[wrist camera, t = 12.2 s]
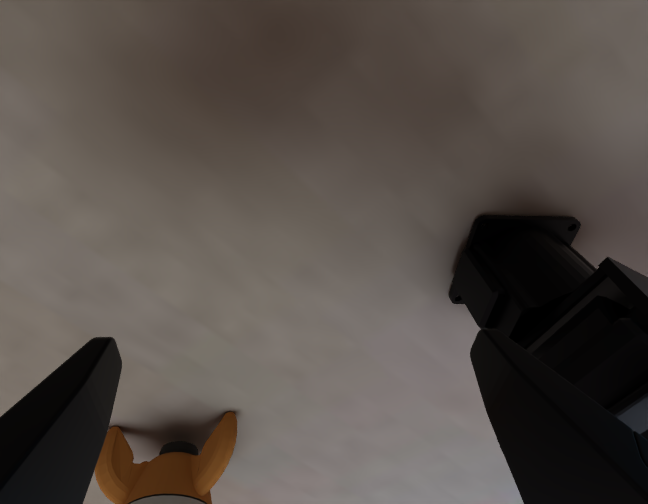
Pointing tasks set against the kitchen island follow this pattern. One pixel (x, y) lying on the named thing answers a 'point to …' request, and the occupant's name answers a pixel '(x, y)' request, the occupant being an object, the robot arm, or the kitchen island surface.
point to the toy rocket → (165, 468)
